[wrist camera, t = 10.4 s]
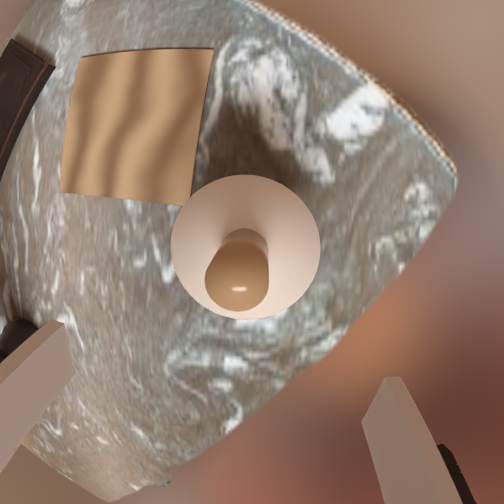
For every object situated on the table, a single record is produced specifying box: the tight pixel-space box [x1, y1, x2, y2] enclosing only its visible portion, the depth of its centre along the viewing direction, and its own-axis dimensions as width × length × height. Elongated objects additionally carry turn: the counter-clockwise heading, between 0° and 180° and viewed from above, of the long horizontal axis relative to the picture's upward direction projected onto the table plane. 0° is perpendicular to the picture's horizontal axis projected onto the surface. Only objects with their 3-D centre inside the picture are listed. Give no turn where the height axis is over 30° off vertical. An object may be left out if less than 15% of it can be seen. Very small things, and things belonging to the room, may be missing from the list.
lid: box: [171, 175, 320, 320], centre depth 24 cm, size 14×14×8 cm
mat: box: [60, 49, 214, 206], centre depth 32 cm, size 20×20×1 cm
